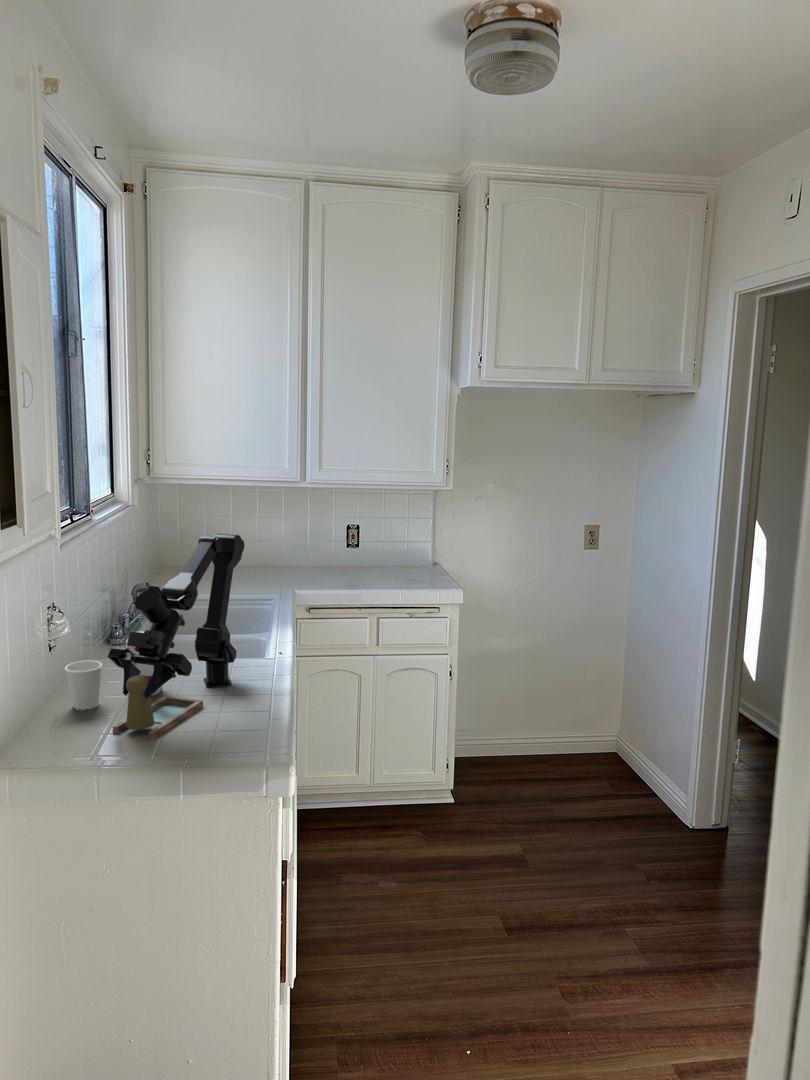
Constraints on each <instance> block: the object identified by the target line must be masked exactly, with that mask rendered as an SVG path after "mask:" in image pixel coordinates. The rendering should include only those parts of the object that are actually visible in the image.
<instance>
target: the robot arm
mask: <svg viewBox="0 0 810 1080" xmlns="http://www.w3.org/2000/svg"><path fill="white" fill-rule="evenodd" d="M244 550H245V541H244V539H243V538H242V537H241V536H240V535H238V534H230V533H229V534H227V533H226V534H225V533H216V534H214V535H203V536H200V537H199V539H198V542H197V546H196V547H195V549H194V551H193V552H192V554H191V555H190V557H189V558H188V560H187V562H186V563H185V565H184V566H183V568H182V569H181V571H180V572H179V574H178V575H176V576H175V577H173V578H172V579H169V580H168V582H167V583H166V584H165V585H164V586H163V587H162V589H161V588H160V587H159V585H149V588H148V589H145V590H143V591H142V592H141V593H139V594H138V595H136V598H135V599H134V606H135V608H136V609H137V611H139V613H140V614H141V615H142V616H143V617H144V619H146V620H147V622H149V623H151V626H150V628H149V629H148V630H147V629H146V630H144V631H145V632H144V633H140V632H139V631H129V633H128V637H127V639H128V641H127V640H126V641H127V646H134V647H135V650H136V651H137V652H139V655H136V654H133V653H132V652H131V651H130V650H129V649H128V648H126V647H122V646H113V647H110V650H109V651H108V654H107V658H108V659H109V660H110V661H111V662H113V663H114V664H115V665H116V666H117V667H119V668H120V669H123V686H122V694H123V695H124V696H127V695H129V692H128V691H127V688H126V682H127V680H128V679H129V678H130V677H132V676H136V675H140V673H141V671H140V670H139V669H138V668H137V666H138V664H146V665H154V672H153V675H152V677H151V679H150V682H149V684H148V686H147V689H146V692H145V695H144V697H145V698H149V697H150V698H151V697H152V696H151V695H152V694H153V693H154V692H155V691H156V690H157V689H159V688H160V687H161V686H162V685H165V684H166V683H167V682H169V681H170V680H171V679H175V678H176V677H177V675H178V676H184V677H189V676H190V675H191V673H192V671H193V665H192V662H190V661H189V659H188V658H187V657H186V656H185V655H184V654H182V653H175V652H169V651H170V649H174V648H175V642H174V639H175V637H176V634H177V632H178V630H179V628H180V627H185V626H186V621H185V620H184V615H183V614H181V613H179V612H178V611H190V610H191V609H192V608H193V606H194V605H195V603H196V600H197V597H198V596H199V593H198V586H199V583H200V582H201V580H202V578H203V577H204V575H205V573H206V572H207V570H208V568H209V567H210V564H211V563H212V564H213V573H212V580H211V587H210V593H209V601H208V607H207V614H206V619H205V622H204V624H203V625H202V626H200V627H198V628H197V629H196V637H195V641H194V650H195V653H196V658H197V661H199V662H205V674H206V675H205V676H206V677H204V678H203V682H204V685H205V687H206V688H215V687H216V686H217V687H223V686H224V687H225V686H232V685H233V682H232V681H231V678H230V676H229V672H230V671H229V664H233V663H235V660H236V659H237V650H236V649H235V647H234V646H233V645H232V643H231V634H230V632H229V631H230V630H229V629H228V626H227V617H228V611H229V609H228V608H229V601H230V595H231V587H232V582H233V574H234V569H235V567H236V566H237V565H238V564H239V563H240V562H241V560H242V556H243V553H244ZM176 610H177V611H176Z"/></svg>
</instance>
